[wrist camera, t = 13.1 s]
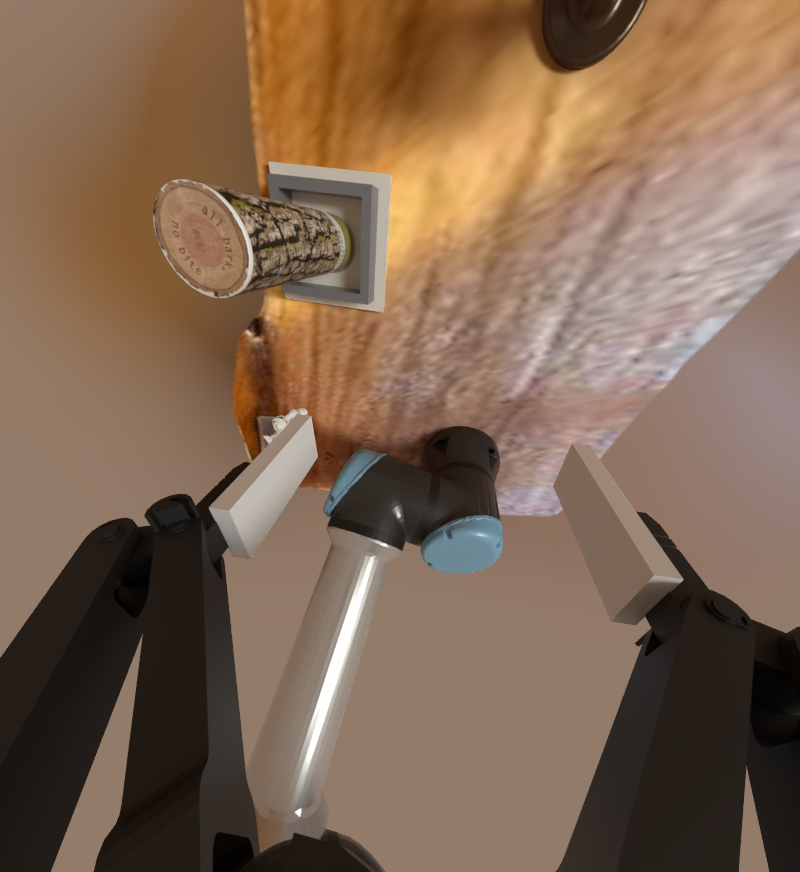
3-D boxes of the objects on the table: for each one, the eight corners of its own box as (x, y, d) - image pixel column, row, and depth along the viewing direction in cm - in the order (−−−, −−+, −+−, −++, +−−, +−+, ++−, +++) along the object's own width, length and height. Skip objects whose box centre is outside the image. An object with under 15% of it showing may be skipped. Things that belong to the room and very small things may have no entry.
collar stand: (384, 311, 45) (377, 317, 41) (288, 297, 46) (273, 301, 42) (392, 176, 36) (385, 168, 32) (272, 163, 37) (252, 154, 33)
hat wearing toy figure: (290, 396, 57) (256, 428, 47) (309, 399, 57) (278, 432, 47) (296, 432, 62) (266, 468, 52) (313, 435, 62) (286, 472, 52)
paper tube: (352, 213, 38) (232, 179, 17) (355, 272, 41) (260, 301, 21) (304, 212, 38) (134, 178, 18) (311, 270, 42) (178, 295, 22)
